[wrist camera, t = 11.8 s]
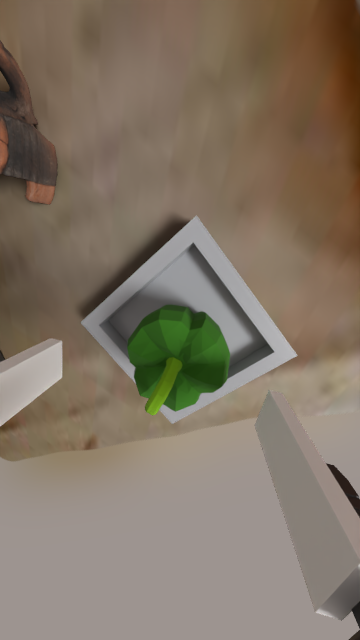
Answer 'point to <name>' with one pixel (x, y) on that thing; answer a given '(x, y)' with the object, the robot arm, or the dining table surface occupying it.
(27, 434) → the dining table surface
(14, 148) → the pottery mug
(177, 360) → the bell pepper
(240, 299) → the gray square tray
